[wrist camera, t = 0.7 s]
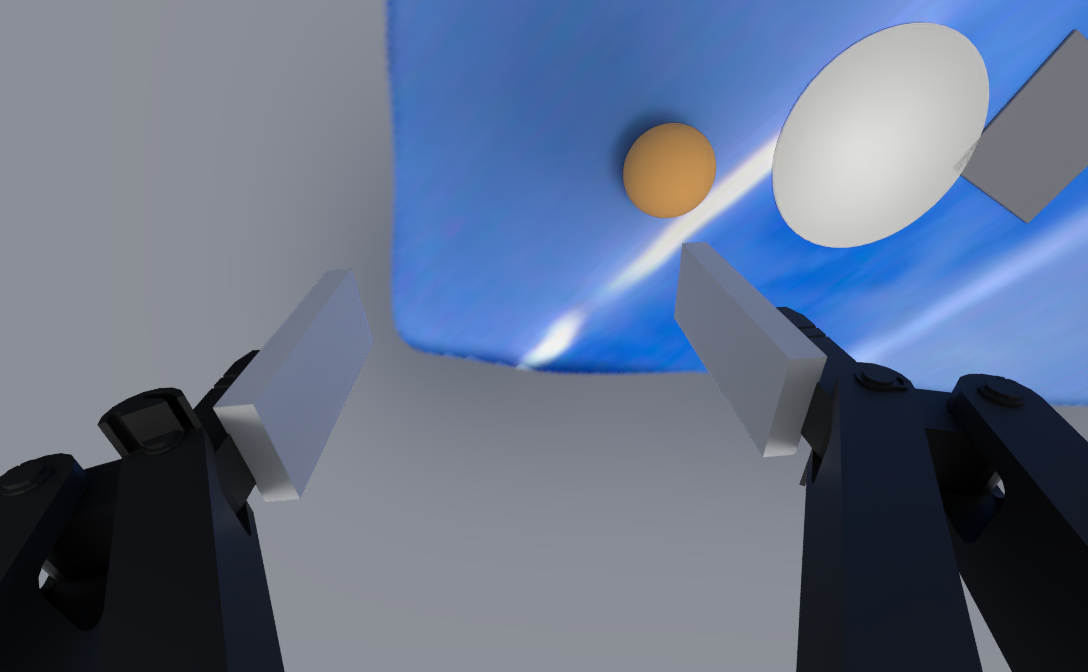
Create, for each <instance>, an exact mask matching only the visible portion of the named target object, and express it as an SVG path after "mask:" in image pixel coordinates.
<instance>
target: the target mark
mask: <svg viewBox="0 0 1088 672" xmlns="http://www.w3.org/2000/svg"><path fill="white" fill-rule="evenodd" d="M988 103H989V82H988V76H987V70H986V67H985V65H984V62H983V59H982V57H981V55H980V54H979V52H978V50H977V49H976V47H975V46H974V45H973V44H972V43H971V42H970V40H969V39H968V38H966V37H965V36H964V35H962V34H961V33H959V32H958V31H956V30H954V29H951V28H949V27H947V26H944V25H939V24H934V23H910V24H903V25H897V26H894V27H890V28H887V29H883V30H881V31H879V32H876V33H874V34H872V35H869V36H867V37H865V38H864V39H862V40H860V41H858V42H857V43H855V44H853V45H852V46H850V47H849V48H847V49H846V50H845V51H843V52H842V53H840V54H839V55H838V56H837V57H835V58H834V59H833V60H832V61H831V62H830V63H829V64H827V65H826V66H825V67H824V68H823V69H822V70H821V71H820V72H819V73H818V75H817V76H816V77H815V78H814V79H813V80H812V81H811V82H810V84H809V85H808V86H807V87H806V89H805V90H804V91H803V93H802V94H801V95H800V97H799V98H798V100H797V102H796V103H795V105H794V106H793V108H792V110H791V111H790V113H789V115H788V117H787V119H786V121H785V123H784V126H783V128H782V131H781V134H780V136H779V139H778V142H777V146H776V150H775V154H774V160H773V167H772V186H773V195H774V198H775V202H776V205H777V208H778V210H779V212H780V214H781V216H782V218H783V219H784V221H785V222H786V223H787V225H788V226H789V227H790V228H791V229H792V230H793V231H794V232H795V233H797V234H798V235H800V236H801V237H803V238H804V239H806V240H808V241H810V242H812V243H815V244H818V245H822V246H827V247H835V248H841V247H854V246H860V245H864V244H868V243H872V242H875V241H877V240H880V239H883V238H885V237H887V236H889V235H892V234H894V233H896V232H898V231H899V230H901V229H903V228H904V227H906V226H908V225H909V224H911V223H912V222H913V221H915V220H916V219H918V218H919V217H920V216H922V215H923V214H924V213H925V212H926V211H928V210H929V209H930V208H931V207H932V206H933V205H934V204H935V203H936V202H937V201H938V200H939V199H940V198H941V197H942V196H943V195H944V194H945V193H946V192H947V191H948V190H949V188H950V187H951V186H952V185H953V184H954V183H955V181H956V180H957V178H958V177H959V176H960V174H961V173H962V171H963V170H964V169H963V168H965V167H966V165H967V163H968V162H966V161H965V160H967V161H969V160H970V158H971V156H972V155H971V154H973V152H974V150H975V148H976V146H977V144H978V142H979V140H978V139H979V138H980V136H981V133H982V131H983V128H984V124H985V120H986V116H987V111H988ZM977 141H978V142H977ZM973 145H975V146H973ZM972 147H973V148H972ZM971 148H972V149H973V150H971ZM968 150H969V151H968ZM970 152H971V153H970ZM965 153H966V154H965ZM963 155H965V156H963ZM966 156H969V158H967V157H966ZM968 159H969V160H968ZM958 162H962V163H961V164H960V163H958ZM956 163H957V164H958V166H957V164H956ZM955 164H956V165H955ZM960 165H961V167H960ZM954 167H955V168H954ZM959 167H960V168H959ZM956 168H958V169H959V170H958V169H956Z"/></svg>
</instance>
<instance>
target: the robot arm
mask: <svg viewBox="0 0 1088 672" xmlns="http://www.w3.org/2000/svg"><path fill="white" fill-rule="evenodd" d="M674 318H675V320H676V321H677V323H678V324H679V326H680V328H681V329H682V331H683V332H684V334H685V335H686V337H687V339H688V340H689V342H690V343H691V345H692V346H693V348H694V350H695V351H696V353H697V354H698V356H699V358H700V359H701V361H702V362H703V364H704V365H705V367H706V369H707V370H708V372H709V373H710V375H711V376H712V378H713V380H714V381H715V382H716V384H717V386H718V387H719V389H720V391H721V392H722V394H723V395H724V397H725V398H726V400H727V401H728V403H729V405H730V406H731V408H732V409H733V411H734V413H735V414H736V416H737V417H738V419H739V420H740V422H741V423H742V425H743V427H744V428H745V430H746V431H747V433H748V435H749V436H750V438H751V439H752V441H753V442H754V444H755V446H756V447H757V449H758V450H759V452H760V454H761V455H762V457H772V456H783V455H793V454H795V453H796V450H797V447H798V444H799V441H800V438H801V435H803V437H804V438H805V439H806V441H807V442H808V443H809V444H810V446H811V447H812V450H811V453H810V456H809V459H808V462H807V465H806V467H805V470H804V473H803V476H802V479H801V481H800V485H802V486H805V484H806V500H805V520H804V537H803V538H804V539H803V556H802V574H801V593H800V612H799V631H798V650H797V668H796V672H983V671H982V667H981V663H980V658H979V654H978V650H977V646H976V642H975V638H974V633H973V630H972V625H971V621H970V617H969V613H968V608H967V604H966V600H965V596H964V591H963V588H962V583H961V579H960V575H961V577H962V578H963V581H964V582H965V584H966V586H967V588H968V590H969V592H970V594H971V596H972V598H973V599H974V601H975V603H976V605H977V607H978V609H979V610H980V613H981V614H982V616H983V618H984V620H985V622H986V624H987V625H988V628H989V629H990V631H991V633H992V635H993V637H994V639H995V641H996V643H997V645H998V646H999V648H1000V650H1001V652H1002V654H1003V656H1004V658H1005V659H1006V661H1007V663H1008V665H1009V667H1010V669H1011V671H1012V672H1088V442H1087V441H1086V440H1085V439H1084V438H1083V437H1082V436H1081V435H1080V434H1079V433H1078V432H1077V431H1076V430H1075V429H1074V428H1073V427H1072V426H1071V425H1070V424H1069V423H1068V422H1067V421H1066V420H1065V419H1063V418H1062V417H1061V416H1060V415H1059V414H1058V413H1057V412H1056V411H1055V410H1054V409H1053V408H1052V407H1051V406H1050V405H1049V404H1048V403H1047V402H1046V401H1045V400H1044V399H1043V398H1042V397H1040V396H1039V395H1038V394H1036V393H1035V392H1034V391H1032V390H1031V389H1029V388H1027V387H1025V386H1023V385H1021V384H1019V383H1017V382H1016V381H1013V380H1010V379H1005V378H1004V377H1000V376H992V375H986V374H968V375H965V376H962V377H960V378H959V380H958V382H957V384H956V386H955V388H954V389H953V391H952V393H950V392H941V391H932V390H924V389H915V388H914V386H913V384H912V383H911V381H910V380H908V379H907V378H906V377H904V376H903V375H902V374H900V373H898V372H896V371H894V370H892V369H890V368H888V367H884V366H880V365H877V364H873V363H863V362H856V361H855V360H854V359H853V358H852V357H851V356H849V355H848V354H847V353H846V352H845V351H844V350H843V349H841V348H840V347H839V346H838V345H837V344H836V343H835V342H834V341H832V340H831V339H830V338H829V337H826V334H824V333H823V332H822V331H821V330H820V329H819V328H816V326H815V325H814V324H813V323H812V322H811V321H810V320H809V319H807V318H806V317H805V316H804V315H802V314H800V313H798V312H796V311H794V310H792V309H790V308H788V307H774V306H773V305H772V304H771V303H770V302H769V301H768V300H767V299H766V298H765V297H764V296H763V295H762V294H761V293H760V292H759V291H758V290H756V289H755V288H754V287H753V286H752V285H751V284H750V283H749V282H748V281H747V280H746V279H745V278H744V277H743V276H742V275H741V274H740V273H738V272H737V271H736V270H735V269H734V268H733V267H732V266H731V265H730V264H729V263H728V262H727V261H726V260H725V259H724V258H723V257H722V256H720V255H719V254H718V253H717V252H716V251H715V250H714V249H713V248H712V247H711V246H710V245H709V244H708V243H707V242H696V243H683V244H682V253H681V262H680V271H679V280H678V289H677V297H676V306H675V315H674ZM372 343H373V340H372V336H371V334H370V330H369V326H368V323H367V319H366V316H365V312H364V309H363V306H362V302H361V299H360V295H359V292H358V288H357V285H356V282H355V278H354V275H353V271H352V269H351V268H346V269H333V270H327V271H326V272H325V273H324V274H323V275H322V277H321V278H320V279H319V280H318V281H317V283H316V284H315V285H314V286H313V287H312V289H311V290H310V291H309V292H308V293H307V295H306V296H305V297H304V298H303V300H302V301H301V302H300V303H299V304H298V306H297V307H296V308H295V309H294V310H293V312H292V313H291V314H290V315H289V316H288V318H287V319H286V320H285V321H284V323H283V324H282V325H281V326H280V327H279V328H278V330H277V331H276V332H275V333H274V334H273V336H272V337H271V338H270V339H269V341H268V342H267V343H266V344H265V345H264V346H263V348H262V349H261V350H252V351H251V352H249V353H248V354H247V355H245V356H243V357H242V358H241V359H239V360H237V361H236V362H234V364H233V365H232V366H231V367H230V368H229V369H228V371H227V372H226V373H225V374H224V375H223V378H220V379H219V381H218V382H217V383H216V384H215V385H214V388H213V389H211V390H210V391H209V392H208V393H207V395H205V397H204V398H203V399H202V400H201V401H200V402H199V403H198V405H197V406H196V407H195V408H194V409H192V407H191V406H190V404H189V402H188V401H187V399H186V397H185V395H184V394H183V392H182V391H181V390H180V389H176V388H158V389H154V390H150V391H146V392H143V393H140V394H138V395H135V396H133V397H130V398H128V399H126V400H124V401H123V402H121V403H119V404H117V405H116V406H114V407H112V408H111V409H110V410H109V411H108V412H107V413H105V414H104V415H103V416H102V417H101V419H100V421H99V423H98V426H99V428H100V429H101V430H102V432H103V433H104V434H105V436H106V437H107V438H108V440H109V441H110V442H111V443H112V445H113V446H114V448H115V449H116V450H117V452H118V453H119V454H120V456H121V457H122V459H119V460H116V461H112V462H109V463H105V464H102V465H98V466H94V467H91V468H87V469H84V470H83V469H82V467H81V466H80V465H79V464H78V462H77V461H76V460H75V459H74V458H73V456H72V455H69V454H63V453H59V454H53V455H46V456H43V457H40V458H37V459H34V460H29V461H27V462H24V463H22V464H21V465H20V466H16V467H14V468H12V469H10V470H8V471H7V472H6V473H5V474H4V475H2V476H0V672H284V667H283V662H282V656H281V651H280V646H279V641H278V636H277V631H276V626H275V620H274V616H273V610H272V605H271V600H270V595H269V590H268V585H267V580H266V575H265V569H264V564H263V559H262V554H261V549H260V544H259V539H258V534H257V529H256V524H255V518H254V513H253V511H252V509H251V507H250V506H249V504H248V502H247V498H248V496H249V495H250V493H251V491H252V489H253V488H254V486H255V484H256V486H257V488H258V489H259V491H260V493H261V495H262V497H263V498H264V500H265V502H271V501H282V500H294V499H300V498H301V496H302V494H303V492H304V490H305V487H306V485H307V483H308V481H309V479H310V477H311V474H312V472H313V470H314V468H315V466H316V463H317V461H318V459H319V457H320V455H321V453H322V451H323V449H324V446H325V444H326V442H327V440H328V438H329V435H330V433H331V431H332V429H333V427H334V425H335V422H336V421H337V418H338V416H339V414H340V412H341V410H342V408H343V405H344V403H345V401H346V399H347V397H348V395H349V392H350V390H351V388H352V386H353V384H354V382H355V379H356V377H357V375H358V373H359V371H360V369H361V366H362V364H363V362H364V359H365V358H366V356H367V354H368V351H369V349H370V347H371V345H372ZM1000 479H1001V480H1002V481H1003V485H1004V489H1005V495H1004V494H1003V492H1002V491H1001V490H1000V488H999V487H998V485H997V483H998V482H999V481H1000ZM41 568H42V569H44V570H45V571H46V572H47V573H48V574H49V576H48V578H47V580H46V581H45V584H44V585H43V586H42V587H41V589H40V588H39V579H38V578H39V574H40V571H41ZM959 573H960V575H959Z"/></svg>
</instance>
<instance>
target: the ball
mask: <svg viewBox="0 0 1088 672" xmlns="http://www.w3.org/2000/svg"><path fill="white" fill-rule="evenodd" d="M715 174H716V159H715V154H714V151H713V148H712V146H711V144H710V143H709V141H708V140H707V138H706V137H705V136H704V135H703V134H702V133H701V132H700V131H698V130H697V129H695V128H693V127H691V126H689V125H686V124H681V123H666V124H662V125H658V126H656V127H653V128H651V129H649V130H648V131H646V132H645V133H644V134H642V135H641V136H640V137H639V138H638V139H637V140H636V141H635V142H634V144H633V145H632V147H631V148H630V150H629V152H628V154H627V156H626V159H625V163H624V168H623V181H624V186H625V190H626V192H627V194H628V196H629V198H630V200H631V201H632V202H633V204H634V205H635V206H636V207H637V208H639V209H640V210H641V211H643V212H644V213H646V214H648V215H651V216H654V217H658V218H672V217H677V216H681V215H683V214H686V213H688V212H690V211H691V210H693V209H694V208H695V207H697V206H698V205H699V204H700V203H701V202H702V201H703V200H704V199H705V197H706V196H707V194H708V193H709V191H710V189H711V187H712V185H713V182H714V179H715Z"/></svg>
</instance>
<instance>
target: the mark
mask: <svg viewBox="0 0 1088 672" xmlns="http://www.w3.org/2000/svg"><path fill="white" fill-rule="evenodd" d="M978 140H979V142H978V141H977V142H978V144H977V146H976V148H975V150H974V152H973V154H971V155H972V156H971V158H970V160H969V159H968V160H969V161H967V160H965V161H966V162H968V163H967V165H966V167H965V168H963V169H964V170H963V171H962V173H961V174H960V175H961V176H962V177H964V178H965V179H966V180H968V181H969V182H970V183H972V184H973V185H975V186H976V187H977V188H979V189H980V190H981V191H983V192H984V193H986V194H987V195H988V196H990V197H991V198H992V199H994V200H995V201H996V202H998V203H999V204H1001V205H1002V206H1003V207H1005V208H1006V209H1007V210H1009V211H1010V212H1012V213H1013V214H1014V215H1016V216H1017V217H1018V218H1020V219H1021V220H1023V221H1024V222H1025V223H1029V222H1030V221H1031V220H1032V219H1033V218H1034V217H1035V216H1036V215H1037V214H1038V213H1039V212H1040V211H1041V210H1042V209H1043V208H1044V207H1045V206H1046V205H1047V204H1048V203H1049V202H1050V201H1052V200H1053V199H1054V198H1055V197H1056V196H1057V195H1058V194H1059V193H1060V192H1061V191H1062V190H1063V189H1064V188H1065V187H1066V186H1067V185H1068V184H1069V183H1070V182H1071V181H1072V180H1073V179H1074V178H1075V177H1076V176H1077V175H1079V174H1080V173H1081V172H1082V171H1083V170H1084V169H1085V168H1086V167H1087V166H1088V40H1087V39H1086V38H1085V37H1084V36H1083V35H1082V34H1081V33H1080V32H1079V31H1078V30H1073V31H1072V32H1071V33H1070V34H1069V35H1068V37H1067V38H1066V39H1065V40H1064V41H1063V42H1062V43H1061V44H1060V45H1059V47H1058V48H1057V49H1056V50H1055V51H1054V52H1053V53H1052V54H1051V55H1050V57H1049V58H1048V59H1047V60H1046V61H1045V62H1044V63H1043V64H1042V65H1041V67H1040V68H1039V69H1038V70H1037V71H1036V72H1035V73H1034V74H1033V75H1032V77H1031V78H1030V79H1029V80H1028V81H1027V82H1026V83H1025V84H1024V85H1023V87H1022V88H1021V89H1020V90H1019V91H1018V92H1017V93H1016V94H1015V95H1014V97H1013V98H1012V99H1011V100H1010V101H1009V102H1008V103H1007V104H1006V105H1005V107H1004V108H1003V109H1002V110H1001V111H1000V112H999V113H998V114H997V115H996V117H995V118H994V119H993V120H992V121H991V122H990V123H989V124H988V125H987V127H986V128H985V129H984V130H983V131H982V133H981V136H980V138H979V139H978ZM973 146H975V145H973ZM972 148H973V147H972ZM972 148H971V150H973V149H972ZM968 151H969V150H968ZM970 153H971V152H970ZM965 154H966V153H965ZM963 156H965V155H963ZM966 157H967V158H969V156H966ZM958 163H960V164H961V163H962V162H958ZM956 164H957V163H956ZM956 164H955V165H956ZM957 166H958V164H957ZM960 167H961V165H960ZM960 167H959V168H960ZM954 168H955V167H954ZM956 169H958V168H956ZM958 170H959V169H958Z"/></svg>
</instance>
